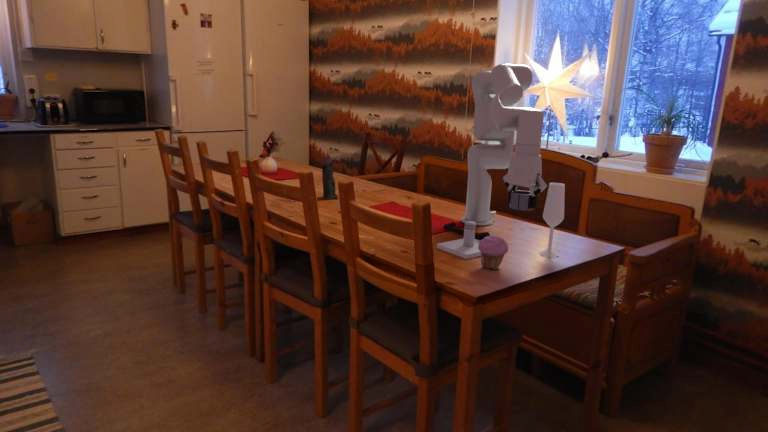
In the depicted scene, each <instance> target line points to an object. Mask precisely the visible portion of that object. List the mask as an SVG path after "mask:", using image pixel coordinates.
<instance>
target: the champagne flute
mask: <svg viewBox="0 0 768 432" xmlns="http://www.w3.org/2000/svg"><path fill="white" fill-rule="evenodd" d="M565 186H566V185H565V183H560V182H549V185H548V189H547V193H546V194H547V195H546V199H545V204H544V209H543V213H542V218H543V221H545V222H546V224H547V226H549V227H550V229H549V235H548V236H549V237H548V245H547V249H544V250H541V251H540V252H538V254H539V256H541V255H542V256H541V257H544V256H545V257H544V258H550V257H555V258H557V257H556V256H558V255H559V254H558V253H557V252H556V251H554V250H553V249H552V247H553V240H554V239H553V238H554V231H555V229H554V228H555V227H557V226H558V225H560V224H561V223H562V222H563V220H564V219H565V195H566V194H565V193H566V191H565V190H566V187H565Z"/></svg>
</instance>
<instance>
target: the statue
mask: <svg viewBox="0 0 768 432" xmlns="http://www.w3.org/2000/svg"><path fill="white" fill-rule="evenodd" d="M333 161H334V159H333V157H332V156H330V155H329V156H326V157H324V160H323V161H322V167H321V168H322V169H321V170H322V171H321V172H322V177H321V178H322V187H323V188H322V192H323V193H322V198H323V197H324V198H323V199H326V198H327V199H332V200H336V199H335V198H337V197H338V196H339V195H338V194H336V191H337V188H336V181H335V180H336V178H335V177H334V171H333V170H334V162H333ZM327 199H326V200H327Z"/></svg>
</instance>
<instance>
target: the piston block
mask: <svg viewBox="0 0 768 432" xmlns="http://www.w3.org/2000/svg"><path fill="white" fill-rule="evenodd" d="M476 226H477V225H476V223H475V222H472V221H466V222H465V223H464V228H463V229H464V235H463V238H458V239H454V240H447V241H444V242H439V243H436V248H437V250H441V251H443V252H446V253H448V254H451V255H454V256H457V257H460V258H463V259H465V260H470V259H473V258H477V257H482V255H481V252H480V251H479V249H478V245H479V242H480V240H477V239H474V238H475V232H476Z"/></svg>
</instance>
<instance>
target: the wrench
mask: <svg viewBox="0 0 768 432" xmlns="http://www.w3.org/2000/svg"><path fill="white" fill-rule="evenodd" d="M456 226H457V224H456V222H454V221H451V222H449V223H444V225H443V228H444V229H446V230H448V229H449V231H451V232H452V233H456V234H459V235H462V236H464V228H460V227H456ZM487 236H491V235H490V232H489V231H485V232H480V233H479V232H476V231H475V238H474V239H477V240H480V241H481V240H482V239H484V238H485V237H487Z"/></svg>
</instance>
